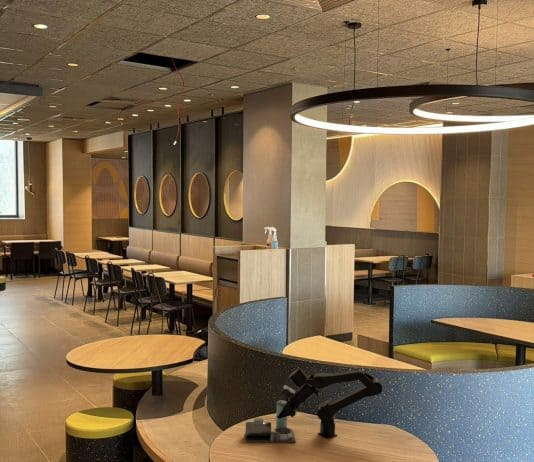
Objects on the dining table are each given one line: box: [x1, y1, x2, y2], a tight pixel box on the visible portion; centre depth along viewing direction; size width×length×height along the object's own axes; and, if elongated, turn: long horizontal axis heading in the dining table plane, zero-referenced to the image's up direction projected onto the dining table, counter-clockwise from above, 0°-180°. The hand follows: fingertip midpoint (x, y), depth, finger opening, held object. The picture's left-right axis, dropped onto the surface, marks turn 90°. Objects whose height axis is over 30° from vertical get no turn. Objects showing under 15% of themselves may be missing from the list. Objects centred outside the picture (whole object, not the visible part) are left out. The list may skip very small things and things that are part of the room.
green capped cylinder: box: [275, 399, 288, 428], centre depth 271 cm, size 5×5×13 cm
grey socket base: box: [244, 417, 296, 444], centre depth 262 cm, size 22×10×8 cm, turn 93°
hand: (278, 415), depth 271 cm, fingers closed on green capped cylinder, 5 cm apart
